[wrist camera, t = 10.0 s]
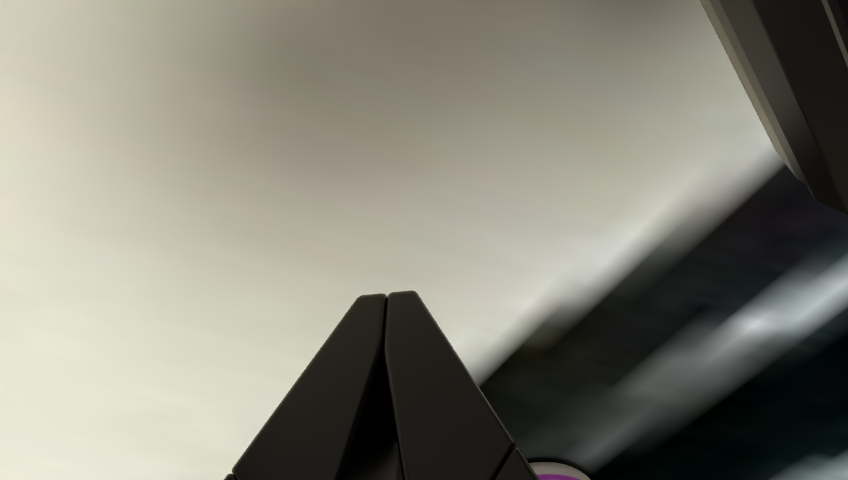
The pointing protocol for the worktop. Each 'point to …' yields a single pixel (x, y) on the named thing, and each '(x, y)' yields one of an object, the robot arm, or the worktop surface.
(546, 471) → the supplement bottle
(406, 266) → the worktop surface
